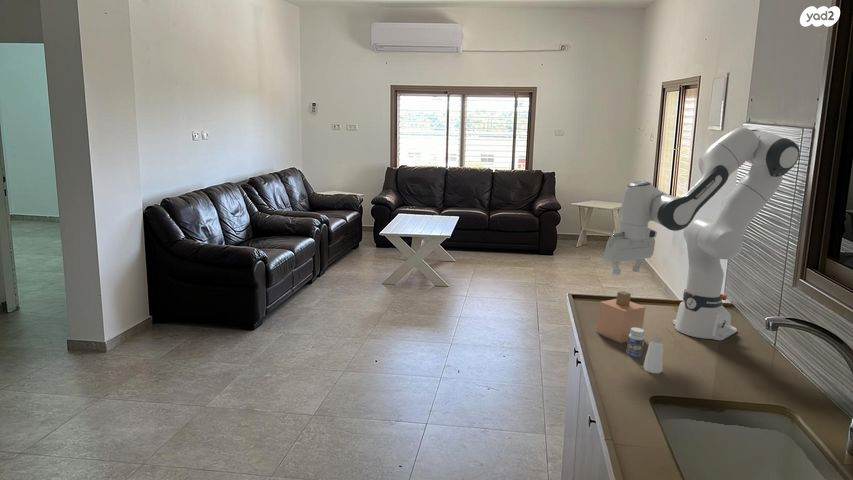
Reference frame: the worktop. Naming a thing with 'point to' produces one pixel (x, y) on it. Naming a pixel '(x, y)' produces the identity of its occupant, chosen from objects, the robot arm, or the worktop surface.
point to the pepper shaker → (654, 355)
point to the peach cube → (619, 317)
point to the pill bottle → (635, 342)
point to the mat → (610, 338)
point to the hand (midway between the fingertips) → (626, 272)
